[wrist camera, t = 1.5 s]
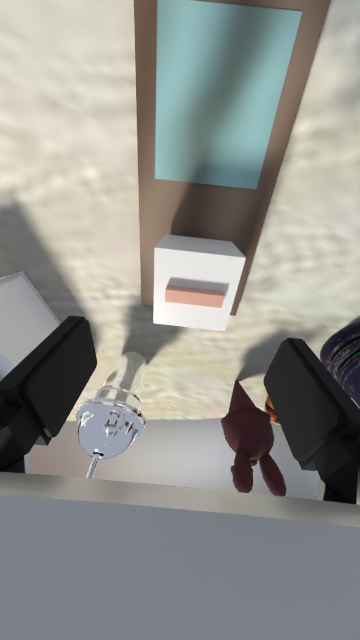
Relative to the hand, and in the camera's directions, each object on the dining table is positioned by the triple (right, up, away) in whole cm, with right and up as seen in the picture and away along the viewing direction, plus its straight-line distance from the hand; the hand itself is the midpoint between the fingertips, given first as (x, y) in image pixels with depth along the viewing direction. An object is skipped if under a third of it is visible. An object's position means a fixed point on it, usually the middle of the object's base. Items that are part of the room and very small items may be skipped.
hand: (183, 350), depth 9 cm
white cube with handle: (+1, +7, +10) cm, 13 cm away
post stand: (+2, +13, +9) cm, 16 cm away
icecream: (+10, -9, +23) cm, 27 cm away
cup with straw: (-8, -6, +22) cm, 24 cm away
